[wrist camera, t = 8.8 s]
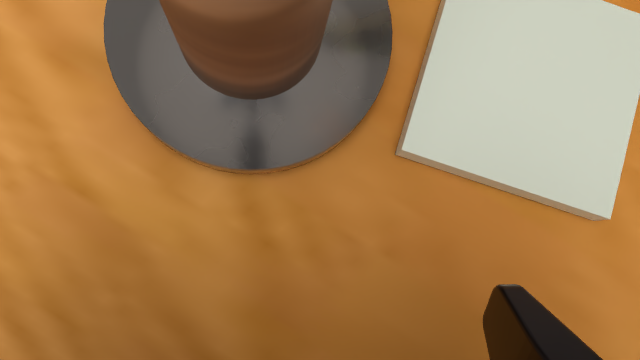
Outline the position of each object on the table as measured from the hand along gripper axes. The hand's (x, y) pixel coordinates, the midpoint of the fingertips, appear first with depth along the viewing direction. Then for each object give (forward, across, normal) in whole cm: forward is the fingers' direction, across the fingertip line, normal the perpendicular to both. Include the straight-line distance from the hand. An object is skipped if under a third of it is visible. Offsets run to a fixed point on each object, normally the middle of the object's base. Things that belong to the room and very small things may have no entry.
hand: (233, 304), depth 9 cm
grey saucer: (+13, 0, +1) cm, 13 cm away
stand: (+12, -10, +2) cm, 16 cm away
